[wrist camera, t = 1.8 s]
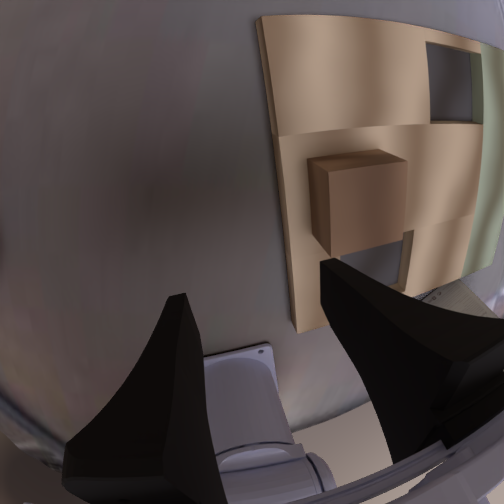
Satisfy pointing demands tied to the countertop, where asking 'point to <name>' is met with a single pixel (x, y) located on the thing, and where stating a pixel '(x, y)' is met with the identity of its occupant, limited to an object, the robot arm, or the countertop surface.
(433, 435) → the robot arm
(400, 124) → the board
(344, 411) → the countertop surface
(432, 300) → the small box
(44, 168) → the countertop surface
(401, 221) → the block
